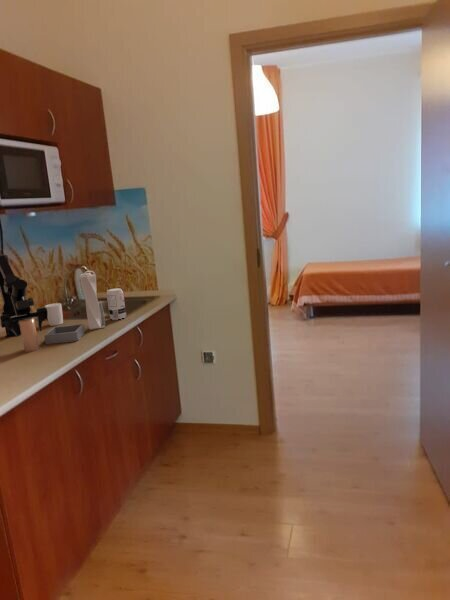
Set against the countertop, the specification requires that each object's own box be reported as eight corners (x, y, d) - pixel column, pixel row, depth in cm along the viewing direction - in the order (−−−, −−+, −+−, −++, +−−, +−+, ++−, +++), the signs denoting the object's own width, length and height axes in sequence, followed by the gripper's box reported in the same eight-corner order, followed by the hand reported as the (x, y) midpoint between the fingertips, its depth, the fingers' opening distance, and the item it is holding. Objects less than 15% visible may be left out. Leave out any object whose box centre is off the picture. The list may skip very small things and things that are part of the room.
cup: (22, 352, 199) (16, 322, 196) (27, 348, 205) (21, 318, 202) (36, 350, 199) (31, 320, 196) (41, 346, 205) (36, 317, 202)
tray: (45, 344, 208) (44, 335, 207) (55, 335, 221) (53, 326, 221) (78, 340, 208) (76, 332, 207) (85, 332, 222) (84, 323, 221)
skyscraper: (104, 328, 224) (95, 270, 218) (86, 331, 223) (77, 272, 217) (106, 324, 233) (97, 267, 227) (89, 326, 232) (80, 269, 226)
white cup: (61, 325, 240) (57, 306, 238) (45, 326, 240) (42, 307, 238) (66, 321, 247) (63, 302, 245) (51, 322, 248) (48, 303, 246)
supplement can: (109, 318, 245) (105, 289, 242) (125, 315, 248) (121, 287, 245) (111, 321, 238) (107, 292, 235) (127, 318, 241) (123, 289, 237)
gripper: (-5, 296, 196) (4, 327, 189) (42, 288, 205) (52, 317, 198) (-3, 312, 204) (5, 342, 197) (42, 304, 214) (51, 332, 206)
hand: (29, 333), depth 200 cm, fingers open, 9 cm apart
